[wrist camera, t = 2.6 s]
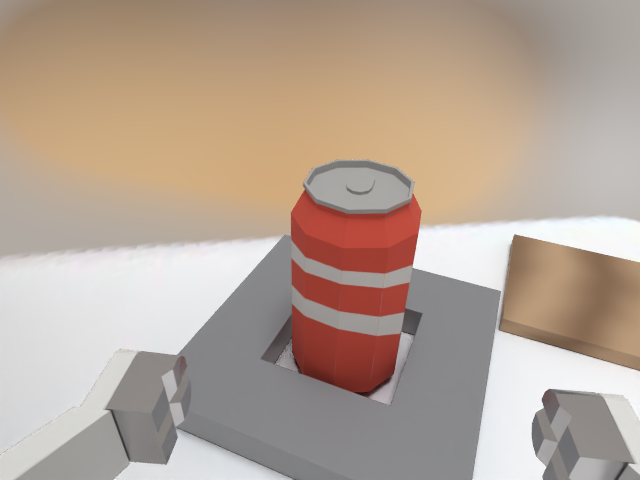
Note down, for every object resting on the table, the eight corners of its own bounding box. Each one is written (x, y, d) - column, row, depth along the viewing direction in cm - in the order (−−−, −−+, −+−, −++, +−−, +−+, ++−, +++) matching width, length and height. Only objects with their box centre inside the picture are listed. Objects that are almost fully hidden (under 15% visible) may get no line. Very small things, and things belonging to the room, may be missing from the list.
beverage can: (399, 331, 30) (429, 162, 24) (387, 413, 25) (420, 227, 19) (310, 313, 32) (313, 148, 25) (281, 389, 26) (275, 205, 20)
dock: (151, 416, 25) (144, 391, 24) (285, 255, 37) (285, 234, 36) (455, 549, 20) (464, 527, 19) (493, 313, 32) (500, 291, 31)
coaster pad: (499, 329, 31) (503, 318, 30) (511, 244, 39) (514, 234, 39) (693, 385, 27) (701, 374, 27) (660, 278, 36) (666, 268, 35)
